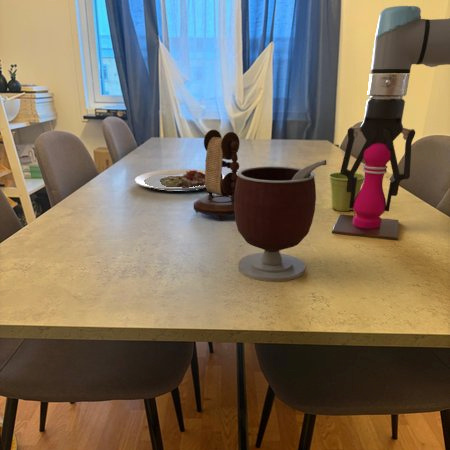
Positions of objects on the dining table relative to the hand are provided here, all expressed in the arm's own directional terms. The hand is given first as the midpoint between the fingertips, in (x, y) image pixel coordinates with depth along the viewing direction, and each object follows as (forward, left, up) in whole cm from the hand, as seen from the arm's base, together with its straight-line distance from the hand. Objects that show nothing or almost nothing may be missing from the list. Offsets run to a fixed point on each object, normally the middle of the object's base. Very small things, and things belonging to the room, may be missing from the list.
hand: (369, 207), depth 99 cm
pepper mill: (0, 0, -4) cm, 4 cm away
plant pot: (+7, -15, -5) cm, 17 cm away
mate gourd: (+14, +31, -5) cm, 34 cm away
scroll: (+36, 0, -5) cm, 36 cm away
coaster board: (0, 0, -5) cm, 5 cm away
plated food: (+61, -28, -5) cm, 67 cm away
